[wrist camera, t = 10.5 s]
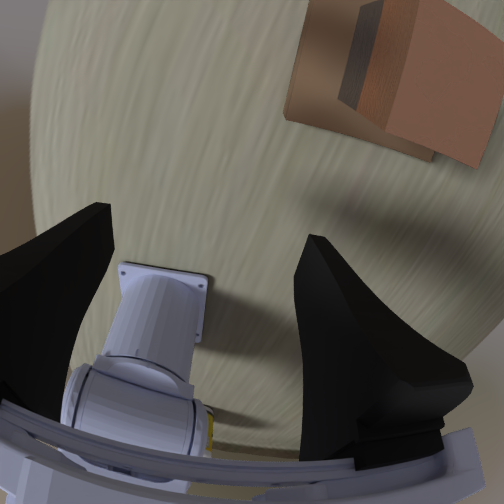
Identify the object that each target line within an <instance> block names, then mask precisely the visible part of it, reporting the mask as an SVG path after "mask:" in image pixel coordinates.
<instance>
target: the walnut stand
mask: <svg viewBox="0 0 504 504" xmlns="http://www.w3.org/2000/svg"><path fill="white" fill-rule="evenodd" d="M374 1H377V0H309V4H308V8H307V12H306V16H305V21H304V25H303V29H302V34H301V38H300V42H299V46H298V51H297V55H296V59H295V63H294V68H293V72H292V76H291V80H290V85H289V89H288V93H287V98H286V102H285V106H284V110H283V114H284V117H285V119H286V120H289V121H293V122H298V123H302V124H306V125H311V126H315V127H319V128H323V129H327V130H331V131H334V132H338V133H342V134H345V135H349V136H352V137H356V138H359V139H363V140H366V141H369V142H372V143H376V144H379V145H382V146H385V147H388V148H391V149H394V150H397V151H400V152H402V153H405V154H408V155H411V156H414V157H416V158H419V159H422V160H424V161H427V162H429V163H430V162H431V159H432V157H433V154H434V152H435V150H432V149H430V148H427V147H425V146H422V145H420V144H417V143H414V142H412V141H409V140H407V139H404V138H401V137H398V136H395V135H393V134H390V133H387V132H384V131H383V130H382V129H380V128H379V127H378V126H376V125H375V124H373V123H372V122H371V121H369V120H368V119H366V118H365V117H364V116H362V115H361V114H359V113H358V112H356V111H355V110H353V109H352V108H351V107H349V106H348V105H346V104H344V103H343V102H341V101H340V100H338V99H337V98H338V94H339V90H340V87H341V83H342V79H343V75H344V71H345V68H346V64H347V60H348V56H349V52H350V48H351V44H352V40H353V36H354V31H355V27H356V23H357V19H358V14H359V10H360V6H362V5H365V4H368V3H371V2H374Z"/></svg>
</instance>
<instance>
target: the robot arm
mask: <svg viewBox="0 0 504 504" xmlns="http://www.w3.org/2000/svg"><path fill="white" fill-rule="evenodd" d="M114 249H115V247H114V238H113V228H112V216H111V204H107V203H100V202H95V203H93V204H91V205H89V206H87V207H85V208H84V209H82V210H80V211H78V212H77V213H75V214H73V215H72V216H70V217H68V218H67V219H65V220H64V221H62V222H60V223H59V224H57V225H55V226H54V227H52V228H50V229H49V230H47V231H45V232H44V233H42V234H40V235H39V236H37V237H35V238H34V239H32V240H30V241H28V242H27V243H25V244H23V245H21V246H19V247H17V248H15V249H13V250H11V251H9V252H7V253H5V254H3V255H0V489H2V490H3V491H5V492H6V493H7V498H6V503H5V504H455V503H457V502H459V501H461V500H463V499H465V498H467V497H469V496H471V495H473V494H475V493H477V492H479V491H480V490H482V489H484V488H485V481H484V476H483V471H482V466H481V462H480V458H479V453H478V450H477V446H476V442H475V438H474V434H473V431H472V428H471V427H468V428H465V429H462V430H459V431H455V432H451V433H448V434H446V435H444V436H441V433H440V429H442V428H443V427H444V425H445V423H444V420H443V416H445V415H446V414H447V413H449V412H450V411H451V410H453V409H454V408H455V407H457V406H458V405H459V404H461V403H462V402H463V401H464V400H465V399H466V398H467V397H468V396H469V395H470V394H471V391H472V389H473V387H474V386H473V383H472V380H471V377H470V374H469V372H468V369H467V366H466V364H465V363H464V362H462V361H461V360H459V359H457V358H456V357H454V356H452V355H451V354H449V353H447V352H445V351H444V350H442V349H441V348H439V347H437V346H436V345H435V344H433V343H432V342H430V341H429V340H427V339H426V338H424V337H423V336H422V335H420V334H419V333H418V332H416V331H415V330H414V329H413V328H411V327H410V326H409V325H408V324H407V323H405V322H404V321H403V320H402V319H400V318H399V317H398V316H397V315H396V314H395V313H394V312H393V311H392V310H390V309H389V308H388V307H387V306H386V305H385V304H384V303H383V302H382V301H381V300H380V299H379V298H378V297H377V296H376V295H375V294H374V293H373V292H372V291H371V290H370V289H369V287H368V286H367V285H366V284H365V283H364V282H363V281H362V280H361V279H360V277H359V276H358V275H357V274H356V273H355V272H354V270H353V269H352V268H351V267H350V266H349V265H348V263H347V262H346V261H345V260H344V258H343V257H342V256H341V255H340V254H339V252H338V251H337V250H336V249H335V248H334V246H333V245H332V244H331V243H330V242H329V241H328V240H327V239H326V237H323V236H317V235H312V234H309V235H308V238H307V241H306V244H305V247H304V249H303V252H302V255H301V258H300V261H299V263H298V266H297V269H296V272H295V274H294V302H295V309H296V316H297V323H298V329H299V336H300V342H301V349H302V359H303V417H302V434H301V445H300V455H299V462H261V461H239V460H226V459H215V458H206V457H203V455H204V451H205V448H206V443H207V437H208V415H207V411H206V409H205V408H204V406H203V404H202V402H201V401H200V400H199V399H195V398H193V394H194V385H191V384H189V378H190V371H191V364H192V357H193V351H194V344H195V343H199V342H201V339H202V329H203V320H204V311H205V302H206V294H207V285H208V278H207V277H206V276H204V275H199V274H192V273H186V272H180V271H173V270H167V269H161V268H155V267H149V266H143V265H137V264H131V263H125V262H121V263H120V264H119V265H118V273H119V280H120V287H121V293H122V300H121V302H120V305H119V307H118V310H117V313H116V315H115V318H114V320H113V323H112V326H111V328H110V331H109V334H108V336H107V339H106V342H105V345H104V347H103V350H102V353H101V355H99V354H97V355H96V358H95V361H94V364H93V367H92V365H89V364H87V363H84V364H82V366H80V367H77V368H76V369H75V370H74V371H73V373H72V375H71V377H70V379H69V381H68V384H67V387H66V389H65V393H64V388H65V382H66V376H67V372H68V367H69V363H70V359H71V355H72V351H73V347H74V344H75V341H76V337H77V334H78V331H79V328H80V325H81V323H82V320H83V318H84V316H85V313H86V311H87V309H88V307H89V305H90V303H91V301H92V299H93V297H94V295H95V293H96V291H97V289H98V287H99V285H100V283H101V281H102V279H103V277H104V275H105V273H106V271H107V268H108V266H109V263H110V261H111V258H112V255H113V252H114ZM123 271H124V272H125V273H124V272H123ZM200 284H202V285H200ZM63 394H64V396H63ZM35 438H36V439H38V440H40V441H43V442H45V443H48V444H50V445H52V446H55V447H57V448H58V449H57V450H56V449H54V448H52V447H50V446H48V445H46V444H43V443H42V442H40V441H38V440H36V439H35ZM191 482H198V483H206V484H218V485H230V486H251V487H285V488H275V489H267V490H266V491H265V494H263V495H257V496H254V497H253V498H252V501H249V500H233V499H223V498H213V497H204V496H197V495H190V494H186V492H187V489H189V487H190V485H191ZM289 486H294V487H289Z"/></svg>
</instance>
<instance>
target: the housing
mask: <svg viewBox="0 0 504 504" xmlns="http://www.w3.org/2000/svg"><path fill="white" fill-rule="evenodd" d="M503 95H504V42H502V41H501V40H500V39H499V38H497V37H496V36H495V35H494V34H492V33H491V32H490V31H488V30H487V29H486V28H484V27H483V26H482V25H480V24H479V23H478V22H476V21H475V20H473V19H472V18H470V17H469V16H467V15H466V14H464V13H463V12H461V11H460V10H458V9H457V8H455V7H454V6H452V5H450V4H449V3H447V2H445V1H444V0H377V1H374V2H371V3H368V4H365V5H362V6H360V10H359V14H358V19H357V23H356V27H355V31H354V36H353V40H352V44H351V48H350V52H349V56H348V60H347V64H346V68H345V71H344V75H343V79H342V83H341V87H340V90H339V94H338V98H337V99H338V100H340V101H341V102H343V103H344V104H346V105H348V106H349V107H351V108H352V109H353V110H355V111H356V112H358V113H359V114H361V115H362V116H364V117H365V118H366V119H368V120H369V121H371V122H372V123H373V124H375V125H376V126H378V127H379V128H380V129H382V130H383V131H384V132H387V133H390V134H393V135H395V136H398V137H401V138H404V139H407V140H409V141H412V142H414V143H417V144H420V145H422V146H425V147H427V148H430V149H432V150H435V151H437V152H439V153H442V154H444V155H446V156H449V157H451V158H453V159H455V160H458V161H460V162H462V163H464V164H466V165H468V166H470V167H473V168H475V169H477V168H478V166H479V164H480V161H481V159H482V156H483V154H484V151H485V149H486V146H487V143H488V141H489V138H490V135H491V132H492V129H493V127H494V124H495V121H496V118H497V114H498V111H499V108H500V105H501V102H502V98H503Z"/></svg>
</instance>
